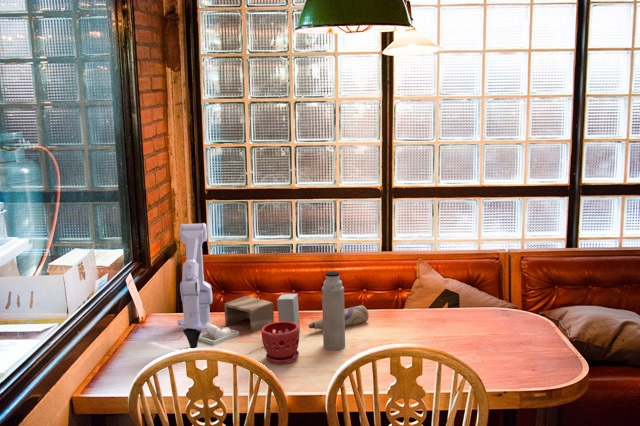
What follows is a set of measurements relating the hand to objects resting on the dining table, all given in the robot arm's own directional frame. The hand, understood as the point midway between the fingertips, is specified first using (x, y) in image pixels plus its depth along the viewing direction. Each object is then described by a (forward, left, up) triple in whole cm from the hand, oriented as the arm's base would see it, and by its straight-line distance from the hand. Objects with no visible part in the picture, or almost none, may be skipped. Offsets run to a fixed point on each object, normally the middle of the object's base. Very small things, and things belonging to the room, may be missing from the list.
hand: (193, 347), depth 241 cm
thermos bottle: (+40, +32, -1) cm, 52 cm away
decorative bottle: (+29, +50, -1) cm, 58 cm away
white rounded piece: (0, +11, +2) cm, 12 cm away
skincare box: (+19, +31, -1) cm, 37 cm away
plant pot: (+32, +12, -1) cm, 35 cm away
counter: (0, +29, -1) cm, 29 cm away
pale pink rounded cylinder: (+2, +15, +2) cm, 16 cm away
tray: (0, +12, -2) cm, 12 cm away
